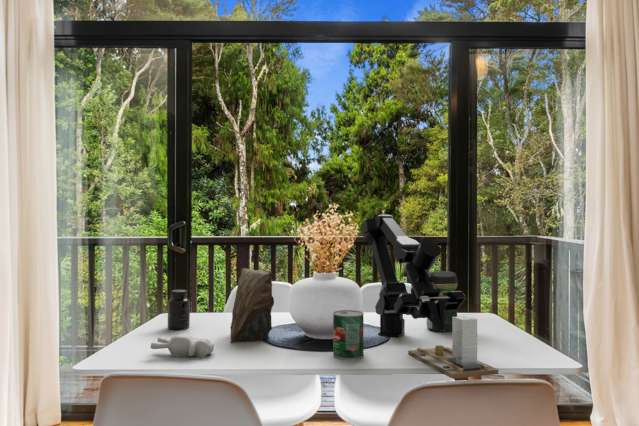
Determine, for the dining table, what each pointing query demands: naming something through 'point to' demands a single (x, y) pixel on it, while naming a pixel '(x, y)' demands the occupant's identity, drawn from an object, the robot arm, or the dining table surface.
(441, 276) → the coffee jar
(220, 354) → the dining table surface
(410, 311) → the robot arm
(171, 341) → the bunny figurine
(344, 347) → the canned tomato
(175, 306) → the supplement bottle
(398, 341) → the dining table surface
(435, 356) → the trammel board
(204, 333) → the dining table surface
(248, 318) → the tall brown stone
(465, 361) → the grey rectangular block
